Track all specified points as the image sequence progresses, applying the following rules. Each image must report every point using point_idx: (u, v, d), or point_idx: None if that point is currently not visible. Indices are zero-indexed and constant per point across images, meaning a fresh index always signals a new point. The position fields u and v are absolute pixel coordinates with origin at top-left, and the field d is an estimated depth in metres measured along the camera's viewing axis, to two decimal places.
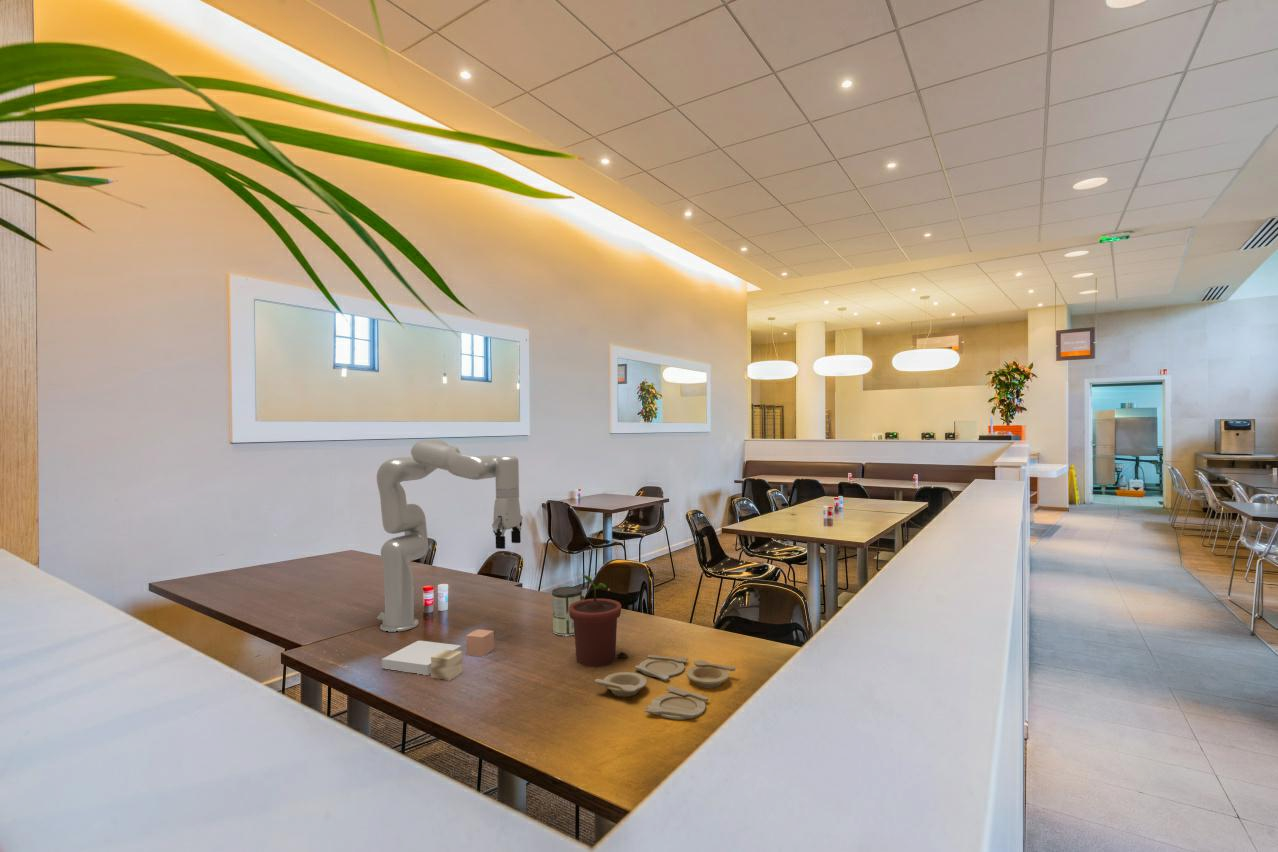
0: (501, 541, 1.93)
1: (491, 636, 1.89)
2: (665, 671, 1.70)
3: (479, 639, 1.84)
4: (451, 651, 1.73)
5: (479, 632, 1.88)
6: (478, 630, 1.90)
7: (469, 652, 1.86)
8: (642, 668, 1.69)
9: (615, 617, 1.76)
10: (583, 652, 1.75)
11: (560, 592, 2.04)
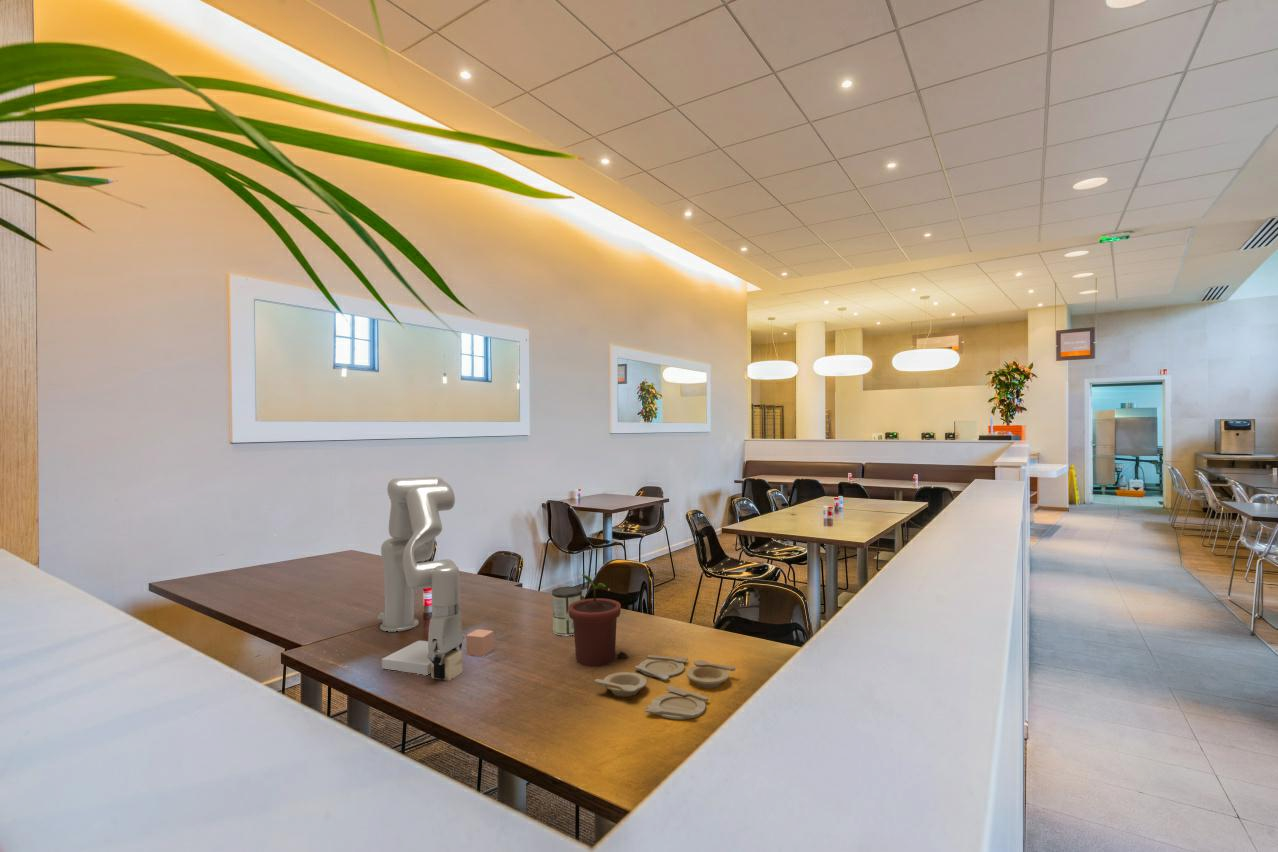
0: (440, 670, 1.66)
1: (491, 636, 1.89)
2: (665, 671, 1.70)
3: (479, 639, 1.84)
4: (451, 650, 1.73)
5: (479, 632, 1.88)
6: (478, 630, 1.90)
7: (469, 652, 1.86)
8: (642, 668, 1.69)
9: (614, 617, 1.76)
10: (583, 652, 1.76)
11: (560, 592, 2.04)
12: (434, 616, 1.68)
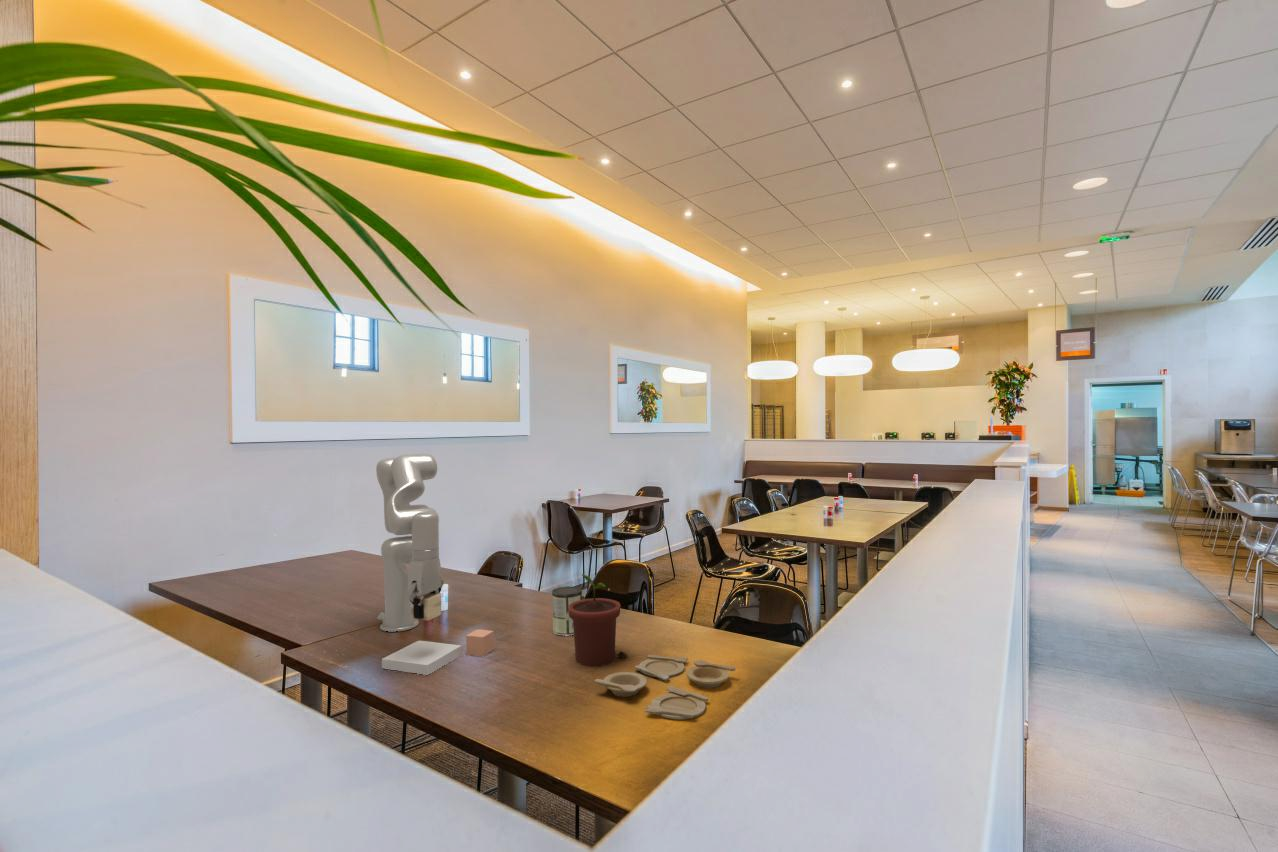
0: (419, 610, 1.75)
1: (491, 636, 1.89)
2: (665, 671, 1.70)
3: (479, 639, 1.84)
4: (430, 593, 1.81)
5: (479, 632, 1.88)
6: (478, 630, 1.90)
7: (469, 652, 1.86)
8: (642, 668, 1.69)
9: (614, 617, 1.77)
10: (582, 652, 1.76)
11: (560, 592, 2.04)
12: (414, 559, 1.76)
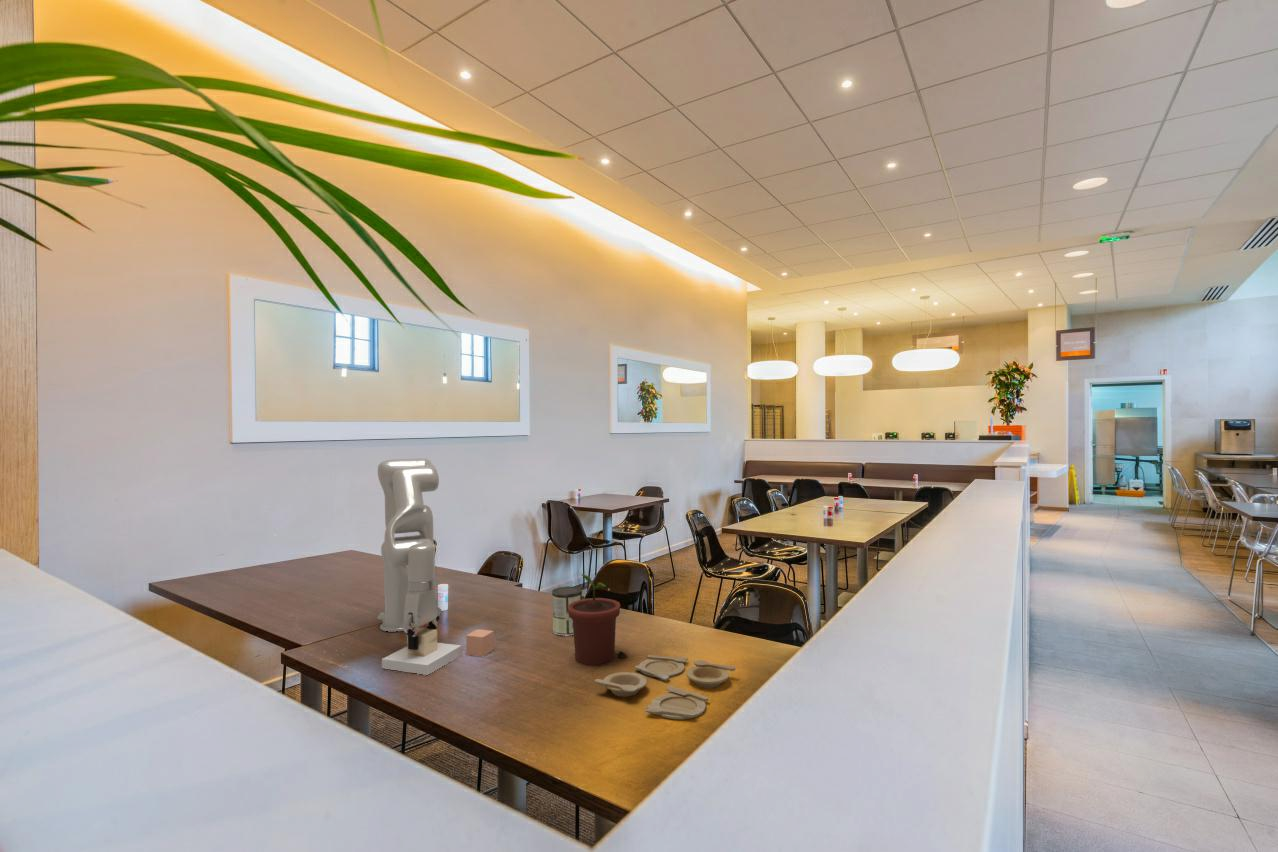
0: (413, 642, 1.76)
1: (491, 636, 1.89)
2: (665, 671, 1.70)
3: (479, 639, 1.84)
4: (427, 629, 1.83)
5: (479, 632, 1.88)
6: (478, 630, 1.90)
7: (469, 652, 1.86)
8: (642, 668, 1.69)
9: (614, 617, 1.77)
10: (582, 651, 1.76)
11: (560, 592, 2.04)
12: (410, 591, 1.78)
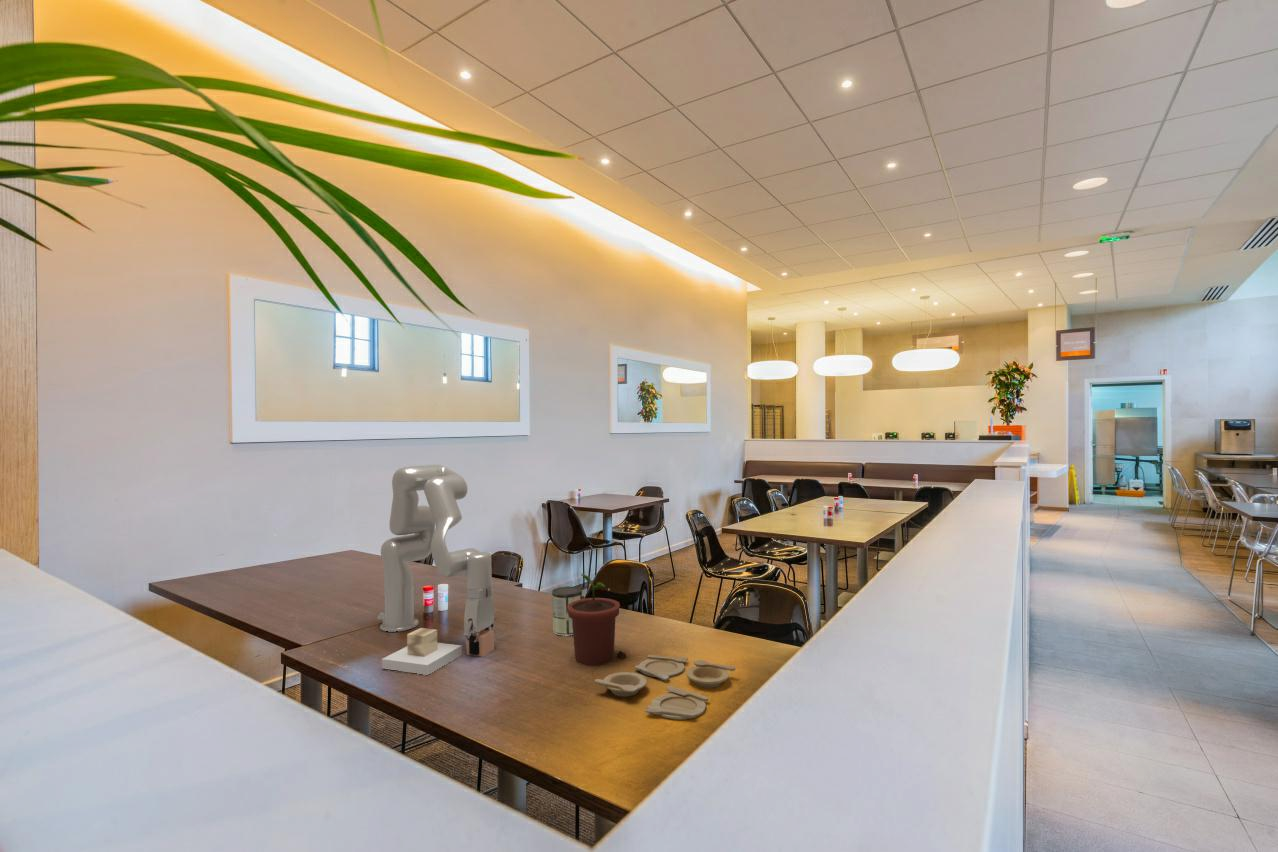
0: (475, 647, 1.84)
1: (491, 636, 1.89)
2: (665, 671, 1.70)
3: (479, 638, 1.84)
4: (427, 629, 1.83)
5: (479, 632, 1.88)
6: None
7: None
8: (642, 668, 1.69)
9: (613, 616, 1.77)
10: (581, 651, 1.76)
11: (560, 592, 2.04)
12: (469, 598, 1.85)
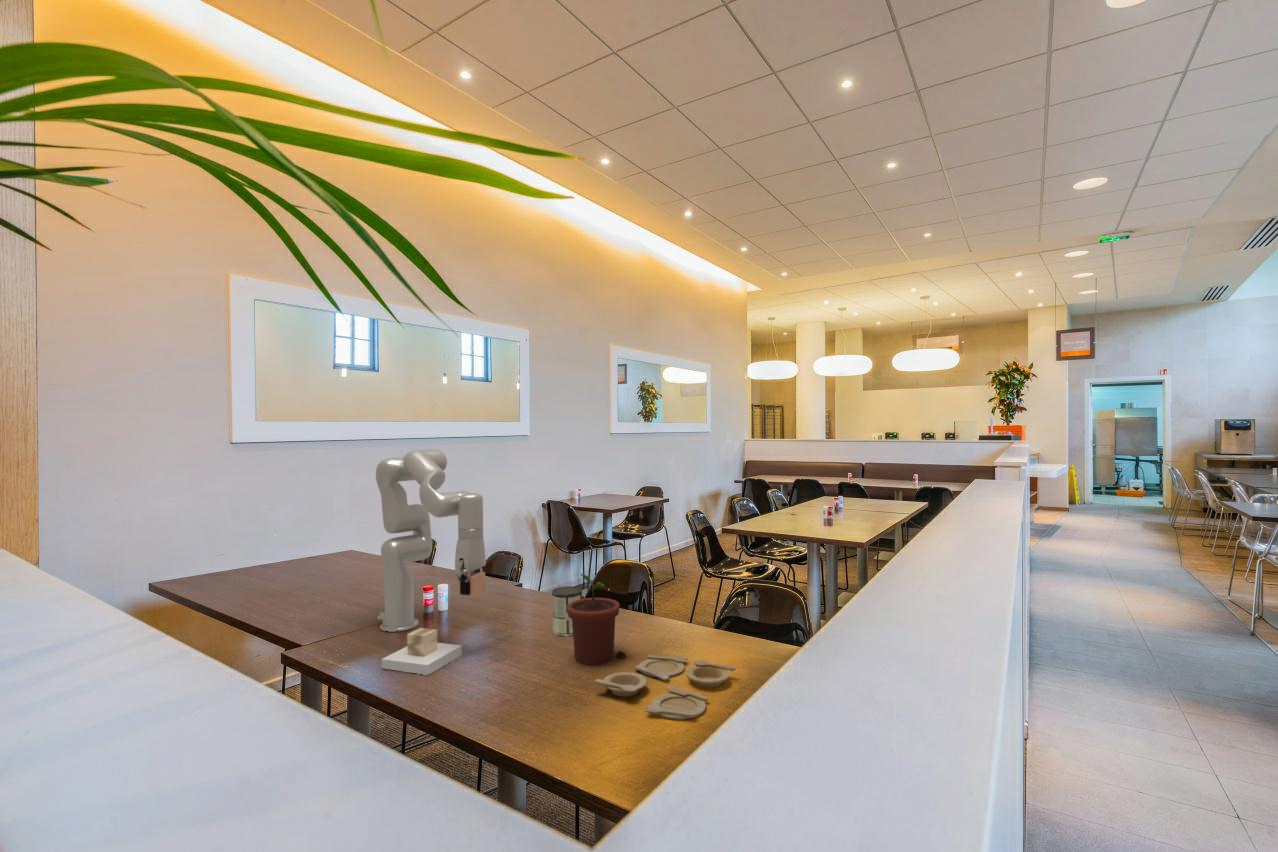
0: (466, 587, 1.83)
1: (483, 577, 1.88)
2: (665, 671, 1.70)
3: (470, 578, 1.84)
4: (427, 629, 1.83)
5: (471, 573, 1.87)
6: None
7: None
8: (642, 668, 1.69)
9: (613, 616, 1.77)
10: (581, 651, 1.77)
11: (560, 592, 2.04)
12: (460, 538, 1.84)
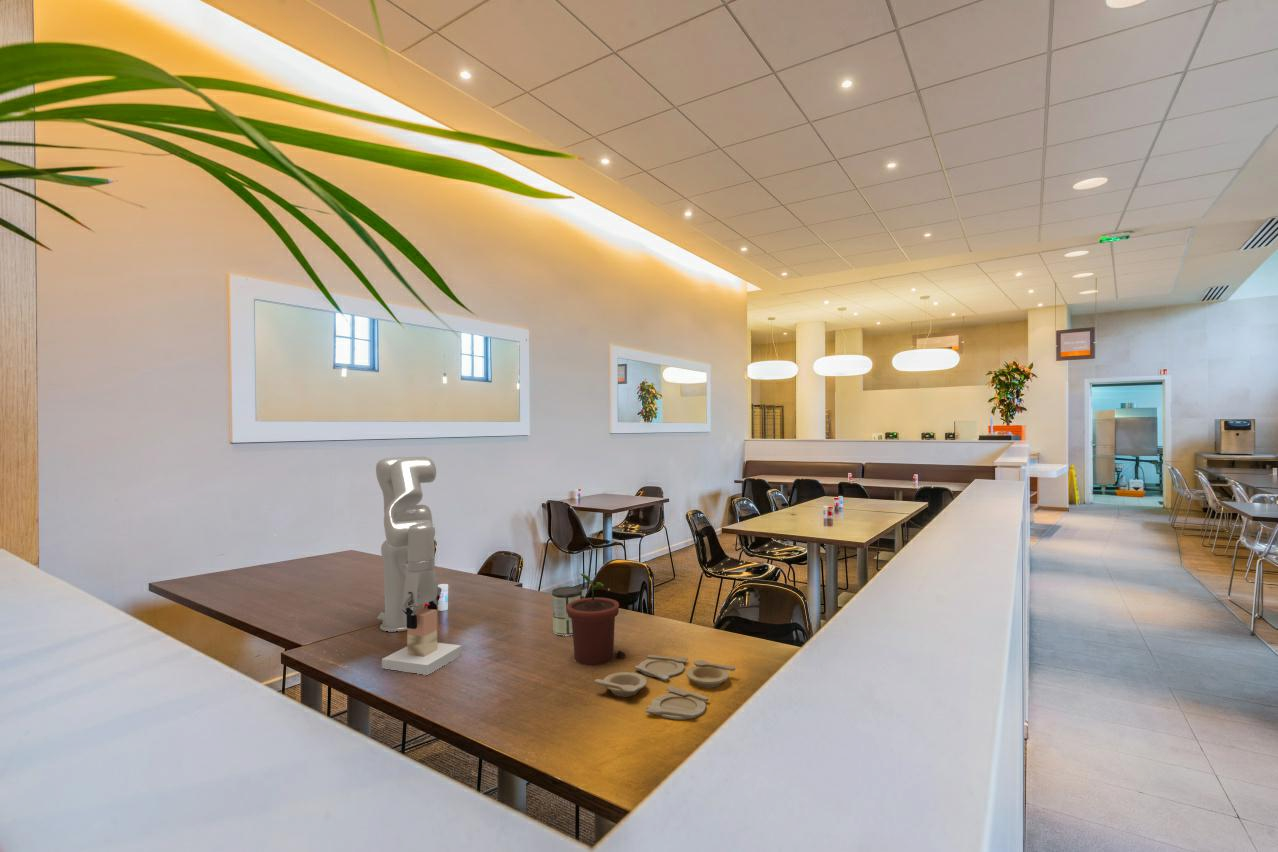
0: (412, 620, 1.75)
1: (434, 615, 1.81)
2: (665, 671, 1.70)
3: (420, 617, 1.77)
4: None
5: (421, 611, 1.81)
6: (421, 609, 1.83)
7: (410, 632, 1.78)
8: (642, 668, 1.69)
9: (612, 616, 1.77)
10: (581, 650, 1.77)
11: (560, 592, 2.04)
12: (410, 571, 1.78)
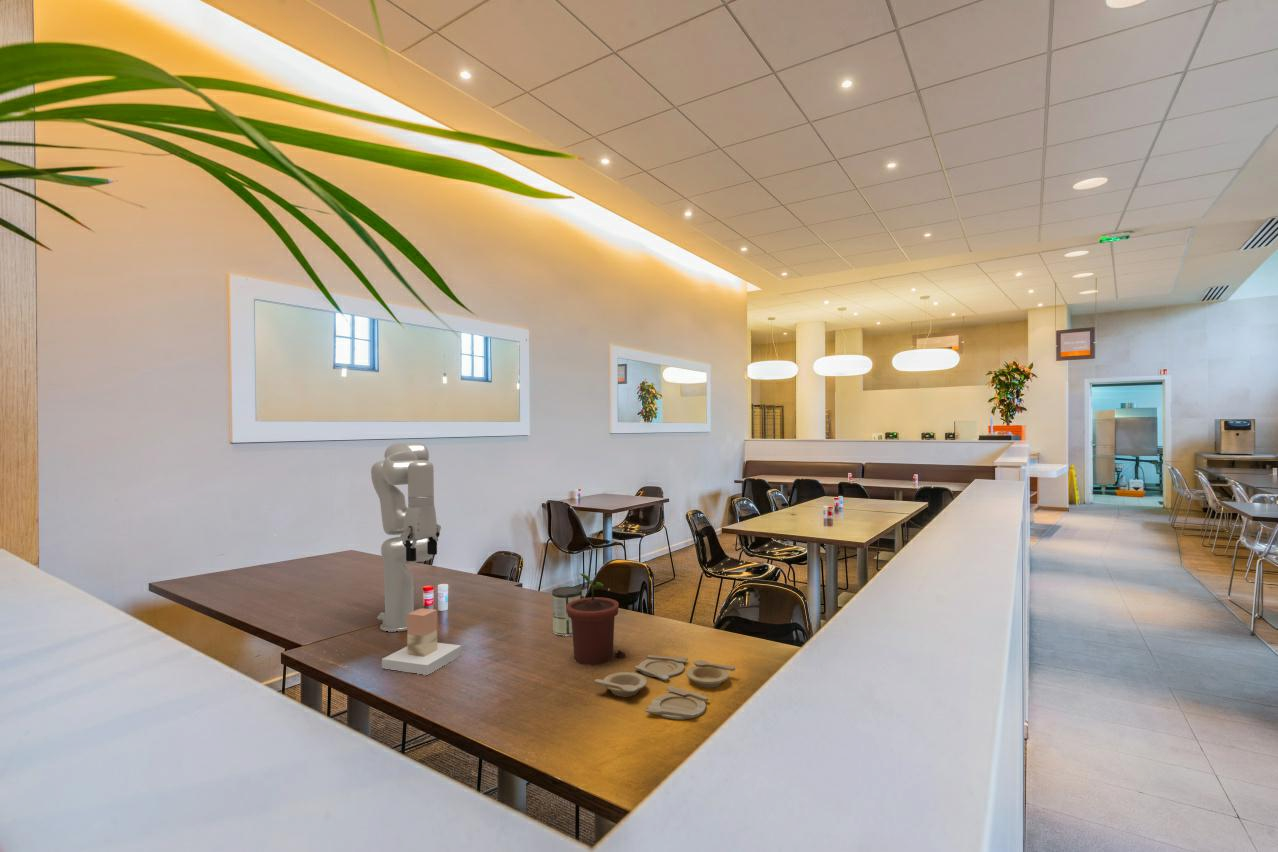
0: (411, 553, 1.80)
1: (434, 615, 1.81)
2: (665, 671, 1.70)
3: (420, 617, 1.77)
4: None
5: (421, 611, 1.81)
6: (421, 609, 1.83)
7: (410, 632, 1.78)
8: (642, 668, 1.69)
9: (612, 616, 1.77)
10: (580, 650, 1.77)
11: (560, 592, 2.04)
12: (410, 506, 1.82)
